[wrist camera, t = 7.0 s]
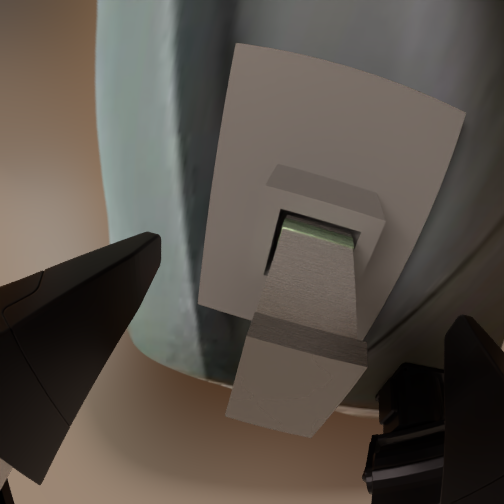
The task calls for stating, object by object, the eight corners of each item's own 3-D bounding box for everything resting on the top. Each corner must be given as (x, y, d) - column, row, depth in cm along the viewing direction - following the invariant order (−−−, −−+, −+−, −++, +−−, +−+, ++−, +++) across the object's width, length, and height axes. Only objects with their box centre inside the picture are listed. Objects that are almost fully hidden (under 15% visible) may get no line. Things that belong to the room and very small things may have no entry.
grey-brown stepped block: (356, 221, 16) (369, 367, 8) (327, 294, 19) (312, 438, 11) (289, 201, 16) (244, 335, 8) (269, 277, 19) (223, 415, 11)
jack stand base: (457, 110, 15) (495, 124, 11) (357, 336, 27) (357, 386, 22) (242, 44, 17) (212, 36, 12) (203, 292, 28) (179, 337, 23)
